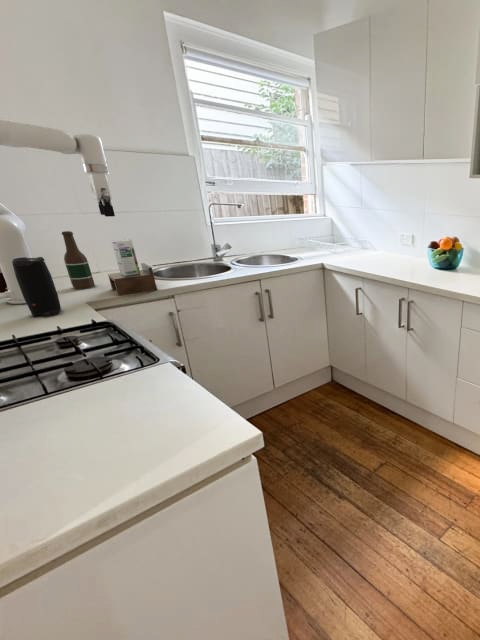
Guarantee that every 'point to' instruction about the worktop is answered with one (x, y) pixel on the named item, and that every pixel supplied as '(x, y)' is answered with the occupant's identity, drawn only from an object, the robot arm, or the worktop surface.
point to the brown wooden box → (133, 281)
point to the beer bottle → (76, 264)
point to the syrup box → (126, 257)
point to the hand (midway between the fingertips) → (107, 215)
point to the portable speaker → (37, 286)
